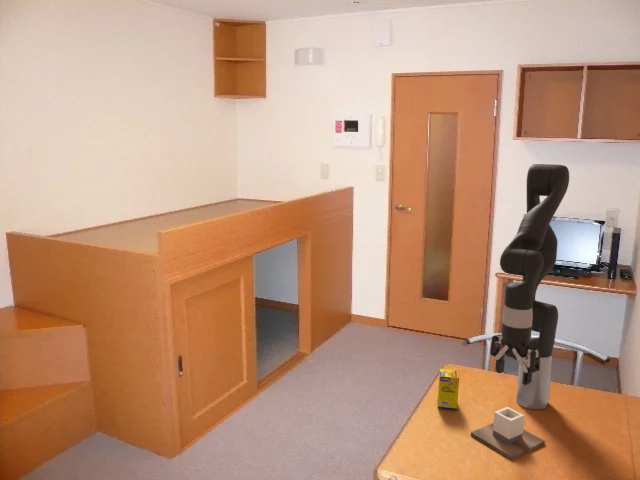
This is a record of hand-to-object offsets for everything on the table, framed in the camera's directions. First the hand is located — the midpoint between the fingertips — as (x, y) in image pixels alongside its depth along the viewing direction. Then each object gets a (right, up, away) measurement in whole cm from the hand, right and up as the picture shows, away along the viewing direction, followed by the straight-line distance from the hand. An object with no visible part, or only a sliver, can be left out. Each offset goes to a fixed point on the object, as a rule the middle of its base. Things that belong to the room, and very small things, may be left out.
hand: (512, 378), depth 152 cm
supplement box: (-13, -14, +23) cm, 30 cm away
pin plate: (0, -18, +4) cm, 19 cm away
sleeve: (0, -17, +4) cm, 18 cm away
